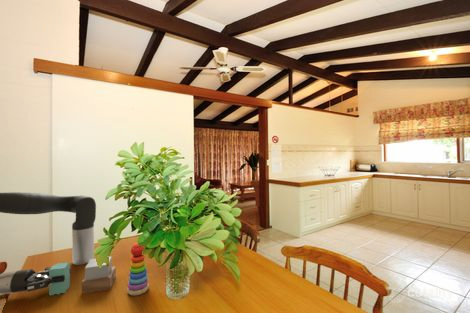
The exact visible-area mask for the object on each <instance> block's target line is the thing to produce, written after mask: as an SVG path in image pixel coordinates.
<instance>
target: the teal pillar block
mask: <svg viewBox="0 0 470 313" xmlns="http://www.w3.org/2000/svg"><path fill="white" fill-rule="evenodd" d="M50 267H51V268H50V269H49V277H54V276H62V275H65V280H64V281H63V282H57V283H53V284H51V285H48V289H49V290H48V294H49V295H50V296H55V295H54V294H57V295H61V294H60V293H64V294H65V293H66V292H67V291H68V289H69V288H70V287H69V286H71V282H70V280H71V278H70V276H71V273H70V269H71V268H70V261H68V262H59V263H54V264H53V266H50ZM66 290H67V291H66Z"/></svg>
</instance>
